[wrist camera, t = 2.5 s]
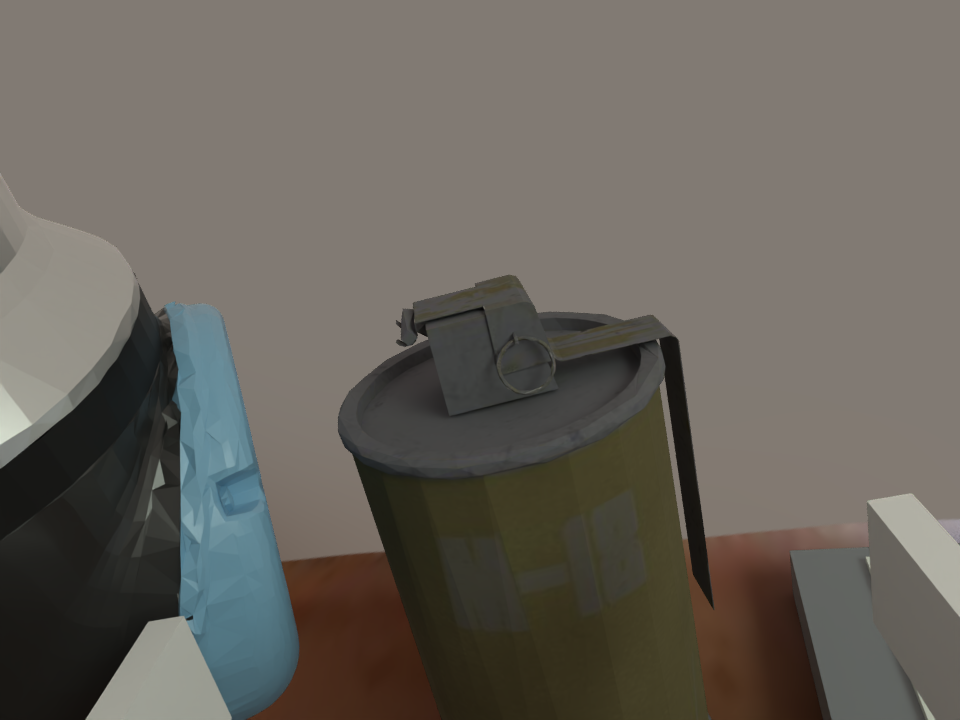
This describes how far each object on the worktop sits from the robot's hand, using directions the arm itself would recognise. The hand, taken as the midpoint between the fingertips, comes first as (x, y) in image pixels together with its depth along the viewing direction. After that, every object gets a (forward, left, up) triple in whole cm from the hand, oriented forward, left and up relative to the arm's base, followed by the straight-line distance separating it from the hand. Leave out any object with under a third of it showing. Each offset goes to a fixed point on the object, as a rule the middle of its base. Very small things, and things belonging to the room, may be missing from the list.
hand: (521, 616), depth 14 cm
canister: (-2, +10, -17) cm, 20 cm away
